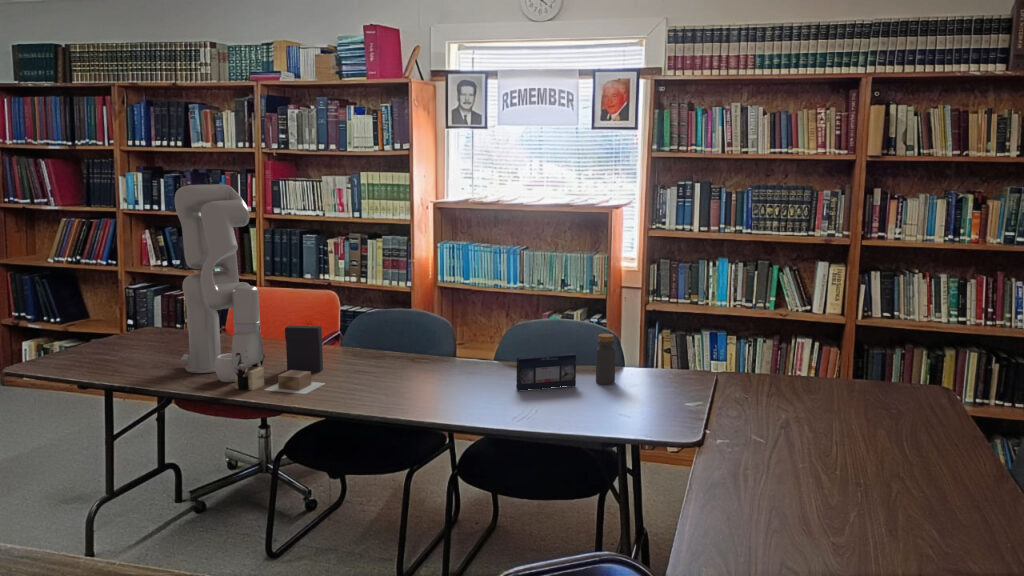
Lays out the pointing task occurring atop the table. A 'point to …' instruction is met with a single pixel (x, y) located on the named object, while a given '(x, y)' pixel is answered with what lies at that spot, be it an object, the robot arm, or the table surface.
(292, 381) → the walnut block
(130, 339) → the table surface
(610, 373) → the bottle
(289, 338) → the black upright slab
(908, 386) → the table surface
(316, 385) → the board
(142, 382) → the table surface
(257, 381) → the maple cube
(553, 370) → the vhs cassette tape
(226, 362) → the mug
